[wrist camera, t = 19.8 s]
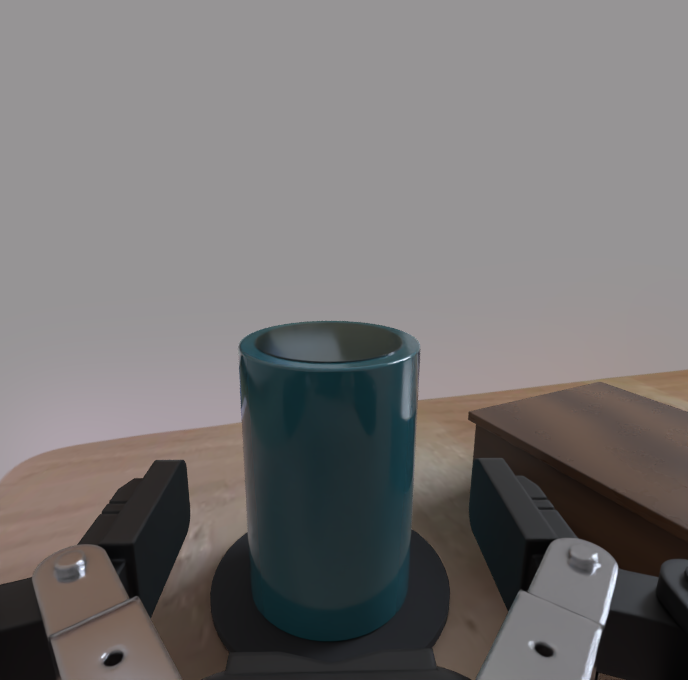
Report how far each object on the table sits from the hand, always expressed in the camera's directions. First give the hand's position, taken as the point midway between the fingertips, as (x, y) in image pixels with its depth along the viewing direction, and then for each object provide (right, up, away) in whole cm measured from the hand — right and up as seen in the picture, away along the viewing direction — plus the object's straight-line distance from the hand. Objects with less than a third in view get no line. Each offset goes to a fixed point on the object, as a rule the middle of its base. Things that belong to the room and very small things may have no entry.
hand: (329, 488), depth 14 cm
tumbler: (0, -6, +6) cm, 9 cm away
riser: (+15, -5, +11) cm, 19 cm away
